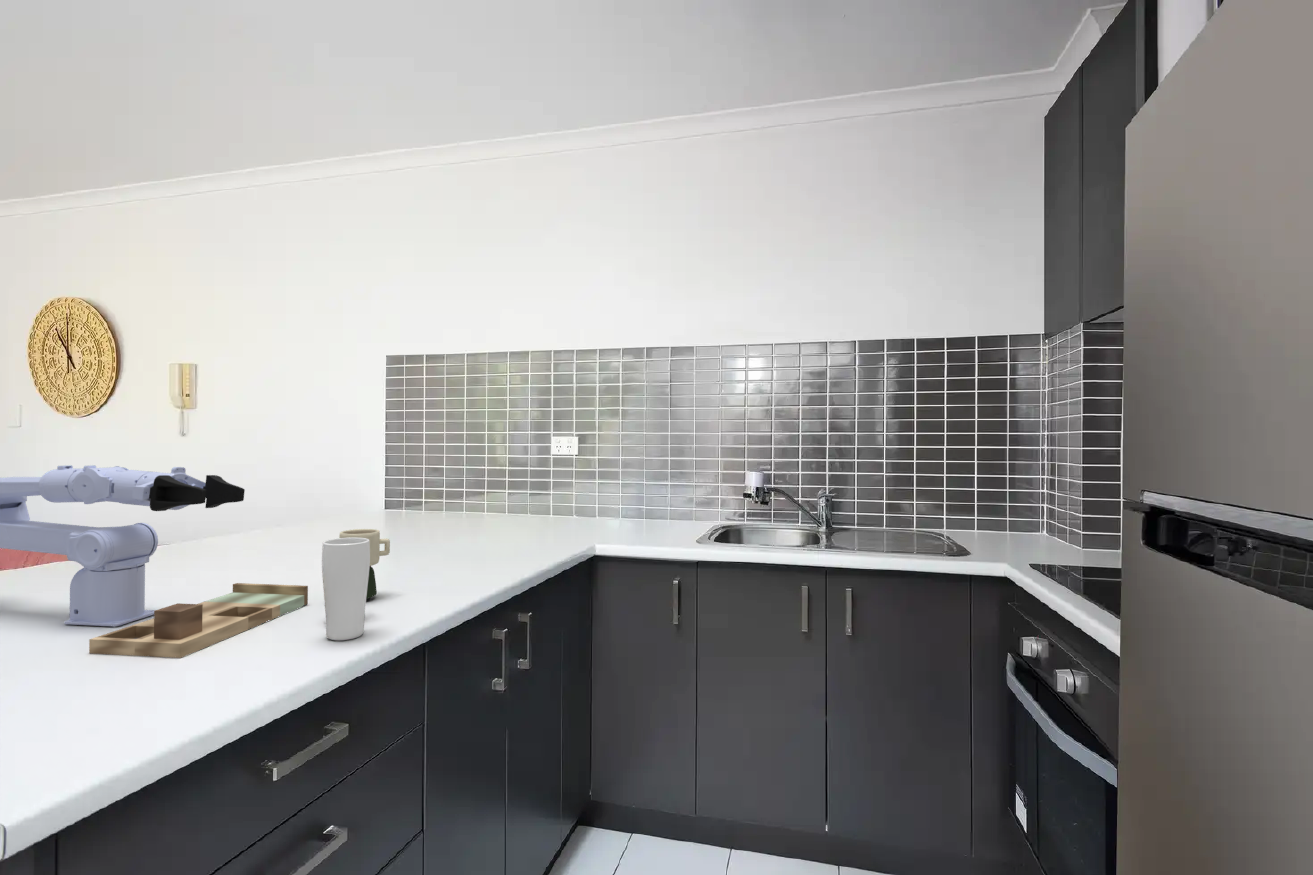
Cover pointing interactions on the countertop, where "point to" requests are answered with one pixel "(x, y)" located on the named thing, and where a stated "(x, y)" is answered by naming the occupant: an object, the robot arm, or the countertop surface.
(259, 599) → the wooden board
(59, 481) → the robot arm
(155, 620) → the block
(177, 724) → the countertop surface
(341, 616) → the drinking glass
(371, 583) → the character mug
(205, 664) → the countertop surface
